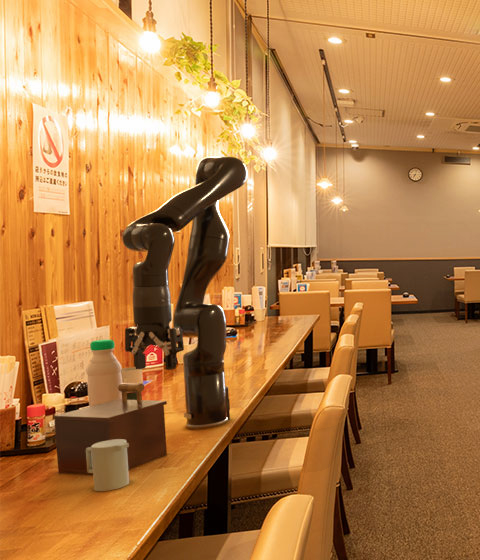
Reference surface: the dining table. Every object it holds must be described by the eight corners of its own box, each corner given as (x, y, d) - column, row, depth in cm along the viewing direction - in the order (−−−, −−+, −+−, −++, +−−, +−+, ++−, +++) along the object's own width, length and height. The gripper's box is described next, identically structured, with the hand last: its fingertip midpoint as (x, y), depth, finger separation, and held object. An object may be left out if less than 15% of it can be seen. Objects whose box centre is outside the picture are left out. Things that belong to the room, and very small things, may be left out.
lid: (116, 402, 154) (115, 380, 153) (166, 404, 152) (165, 381, 151) (54, 419, 140) (52, 395, 139) (108, 421, 138) (106, 396, 137)
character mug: (118, 410, 192) (115, 367, 191) (147, 407, 196) (145, 365, 195) (110, 419, 183) (107, 374, 182) (141, 415, 186) (138, 371, 185)
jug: (75, 490, 130) (72, 446, 130) (102, 479, 136) (99, 438, 135) (114, 492, 129) (111, 448, 128) (139, 481, 135) (137, 439, 134)
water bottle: (106, 440, 163) (99, 342, 161) (83, 439, 164) (76, 342, 163) (133, 432, 170) (126, 338, 168) (111, 430, 171) (104, 338, 170)
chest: (117, 452, 154) (113, 403, 153) (166, 454, 152) (163, 405, 151) (58, 472, 140) (54, 419, 140) (112, 475, 138) (108, 421, 138)
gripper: (190, 302, 161) (193, 366, 162) (140, 302, 164) (144, 365, 164) (164, 305, 154) (167, 372, 155) (112, 305, 156) (116, 371, 157)
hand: (155, 369), depth 160 cm, fingers open, 8 cm apart
